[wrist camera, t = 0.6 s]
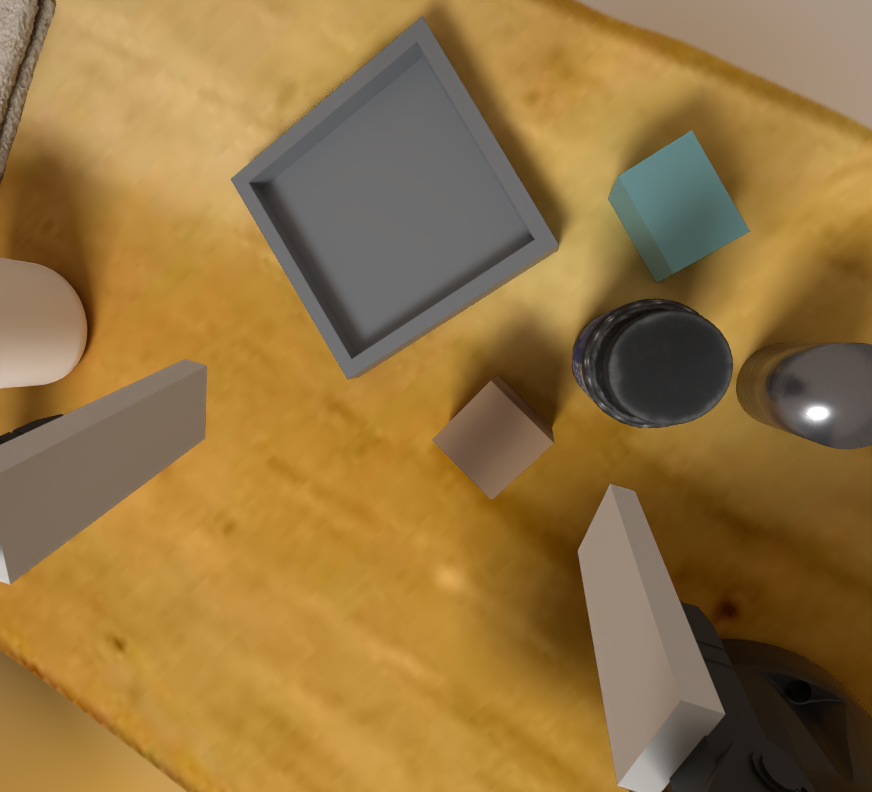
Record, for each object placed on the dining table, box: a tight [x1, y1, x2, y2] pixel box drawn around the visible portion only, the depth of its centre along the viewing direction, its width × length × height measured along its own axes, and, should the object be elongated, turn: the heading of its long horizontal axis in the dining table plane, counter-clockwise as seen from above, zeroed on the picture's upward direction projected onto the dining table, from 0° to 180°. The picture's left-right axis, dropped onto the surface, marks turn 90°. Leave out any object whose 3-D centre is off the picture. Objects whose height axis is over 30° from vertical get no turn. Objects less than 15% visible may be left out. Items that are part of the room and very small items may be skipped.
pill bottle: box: [572, 299, 733, 428], centre depth 24 cm, size 6×6×11 cm
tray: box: [231, 16, 558, 379], centre depth 30 cm, size 16×16×2 cm
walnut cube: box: [432, 375, 554, 500], centre depth 29 cm, size 5×5×5 cm
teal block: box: [608, 130, 750, 283], centre depth 26 cm, size 6×4×4 cm, turn 30°
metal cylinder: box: [736, 343, 872, 449], centre depth 24 cm, size 5×5×6 cm
